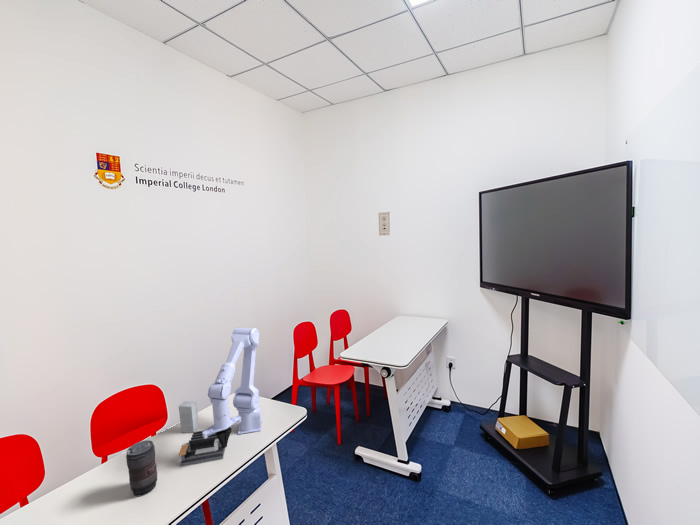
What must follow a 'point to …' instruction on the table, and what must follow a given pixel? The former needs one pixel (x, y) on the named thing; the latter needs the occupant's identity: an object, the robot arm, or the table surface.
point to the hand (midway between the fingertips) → (224, 446)
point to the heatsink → (199, 443)
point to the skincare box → (188, 417)
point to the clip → (208, 449)
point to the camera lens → (142, 467)
